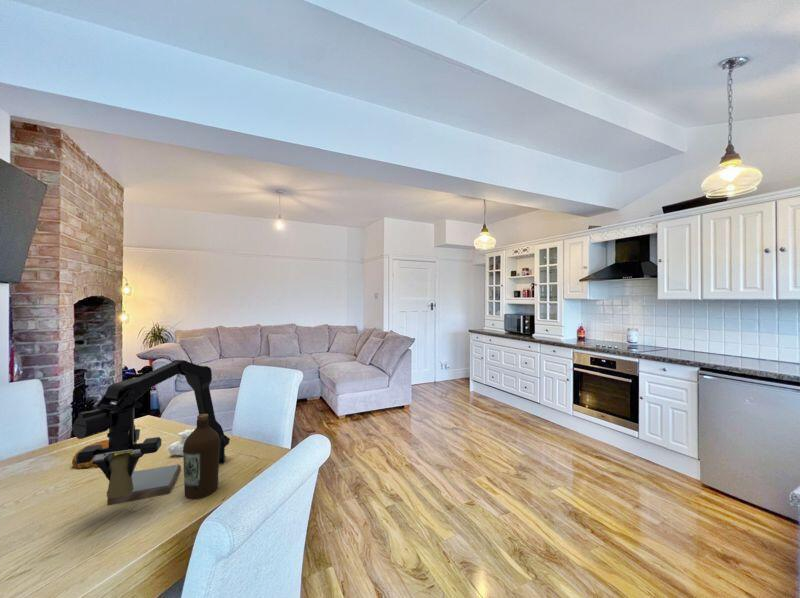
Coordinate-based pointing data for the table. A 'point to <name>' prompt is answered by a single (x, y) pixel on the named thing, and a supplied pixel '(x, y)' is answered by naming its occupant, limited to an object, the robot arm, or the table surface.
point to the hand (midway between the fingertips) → (120, 478)
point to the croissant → (89, 464)
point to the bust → (179, 443)
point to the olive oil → (201, 460)
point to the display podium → (150, 483)
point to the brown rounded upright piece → (119, 476)
